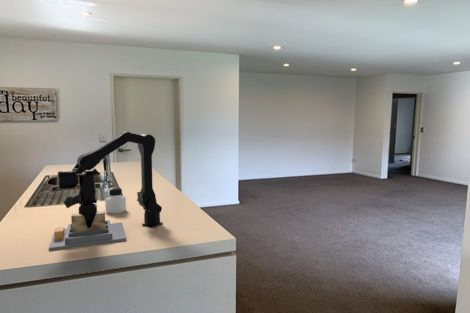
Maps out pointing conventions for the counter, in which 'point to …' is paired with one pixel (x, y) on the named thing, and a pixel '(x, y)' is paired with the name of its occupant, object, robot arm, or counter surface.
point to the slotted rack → (87, 236)
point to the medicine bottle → (115, 201)
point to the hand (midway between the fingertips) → (89, 225)
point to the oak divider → (81, 225)
